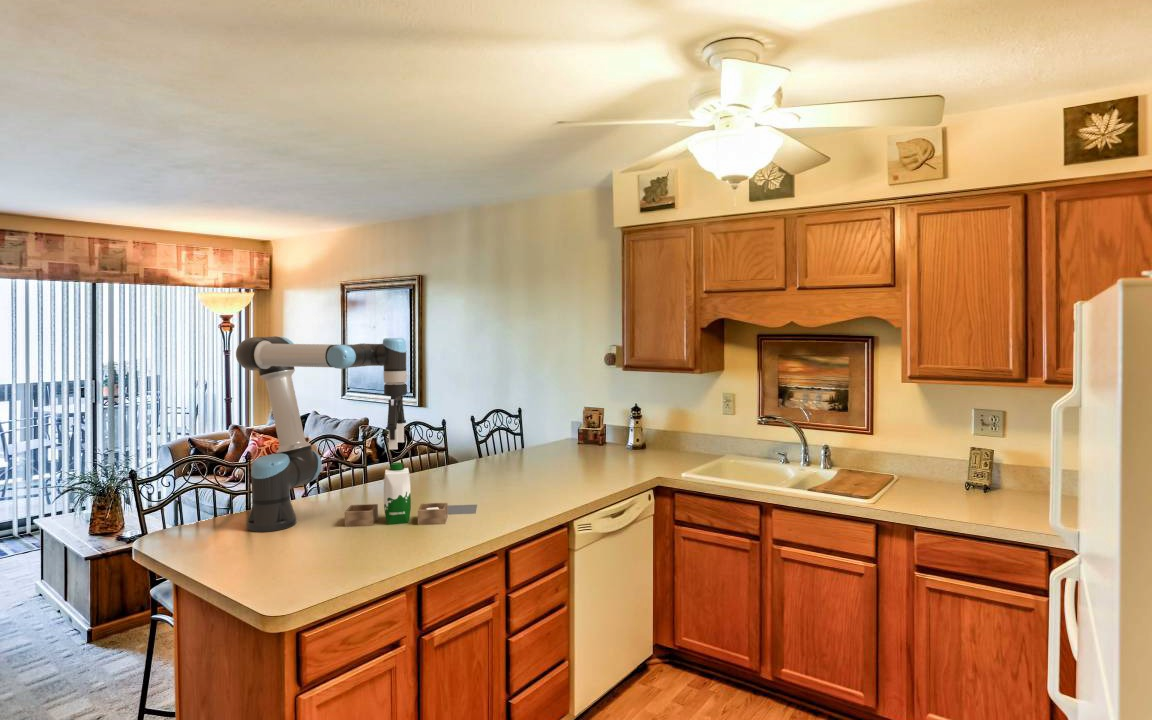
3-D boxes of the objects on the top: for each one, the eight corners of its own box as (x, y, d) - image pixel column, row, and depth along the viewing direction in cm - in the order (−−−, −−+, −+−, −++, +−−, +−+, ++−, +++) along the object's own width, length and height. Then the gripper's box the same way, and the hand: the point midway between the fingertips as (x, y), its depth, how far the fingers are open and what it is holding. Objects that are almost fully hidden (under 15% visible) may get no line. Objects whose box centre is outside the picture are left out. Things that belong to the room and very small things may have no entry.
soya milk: (410, 518, 229) (409, 461, 228) (411, 525, 221) (410, 466, 220) (384, 520, 227) (383, 463, 226) (384, 527, 218) (383, 468, 217)
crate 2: (417, 526, 219) (417, 510, 219) (421, 519, 228) (421, 503, 228) (445, 525, 220) (444, 509, 220) (447, 518, 229) (447, 502, 229)
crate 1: (344, 528, 218) (344, 512, 217) (351, 520, 227) (351, 505, 226) (372, 527, 219) (372, 511, 218) (378, 519, 228) (377, 504, 227)
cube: (428, 522, 221) (427, 511, 221) (426, 519, 225) (426, 508, 225) (439, 521, 223) (439, 509, 223) (438, 518, 226) (437, 507, 226)
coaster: (441, 516, 231) (441, 514, 231) (444, 507, 243) (444, 505, 243) (475, 515, 232) (475, 513, 232) (477, 506, 244) (477, 504, 244)
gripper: (400, 386, 210) (402, 452, 211) (412, 380, 235) (413, 439, 236) (376, 386, 209) (378, 452, 210) (390, 380, 234) (391, 439, 235)
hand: (396, 445), depth 223 cm, fingers open, 13 cm apart
